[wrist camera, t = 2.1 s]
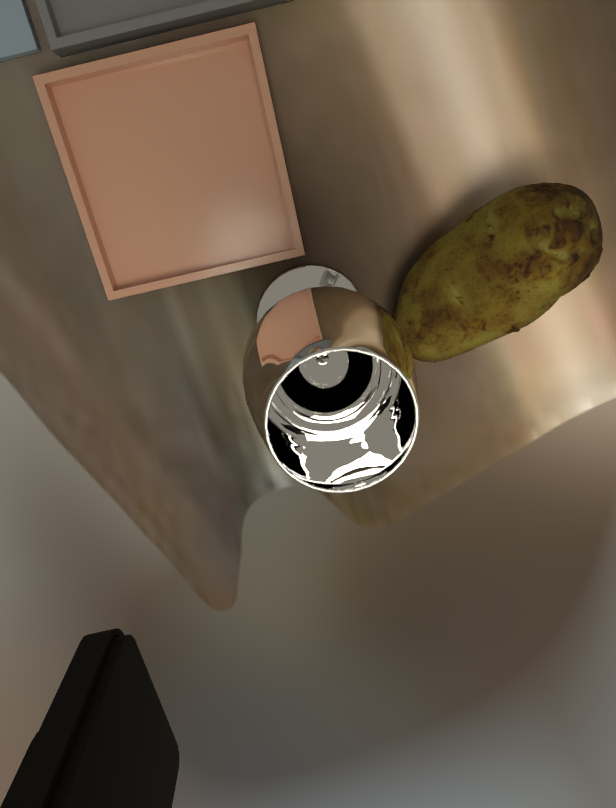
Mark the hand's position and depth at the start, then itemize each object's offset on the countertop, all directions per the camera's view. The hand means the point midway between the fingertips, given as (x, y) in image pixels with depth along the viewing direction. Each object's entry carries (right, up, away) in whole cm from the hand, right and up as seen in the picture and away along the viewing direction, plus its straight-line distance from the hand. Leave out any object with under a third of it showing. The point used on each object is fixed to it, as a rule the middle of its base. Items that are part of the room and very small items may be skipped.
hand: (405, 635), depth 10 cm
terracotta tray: (-10, +19, +25) cm, 33 cm away
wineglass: (-2, +10, +29) cm, 31 cm away
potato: (+9, +13, +28) cm, 32 cm away
